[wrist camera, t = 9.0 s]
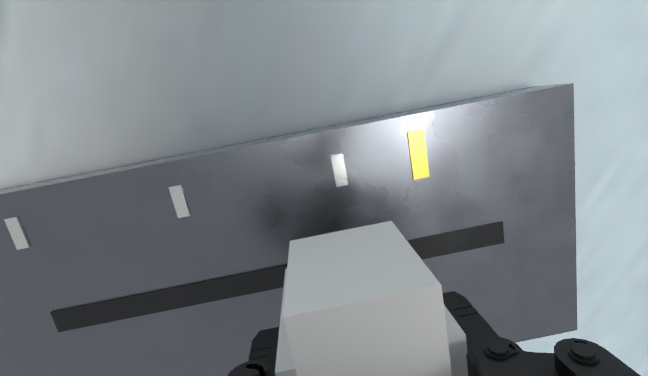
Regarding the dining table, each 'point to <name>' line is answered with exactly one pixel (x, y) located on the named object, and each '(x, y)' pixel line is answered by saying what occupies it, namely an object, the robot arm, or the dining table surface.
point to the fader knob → (364, 306)
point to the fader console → (288, 234)
